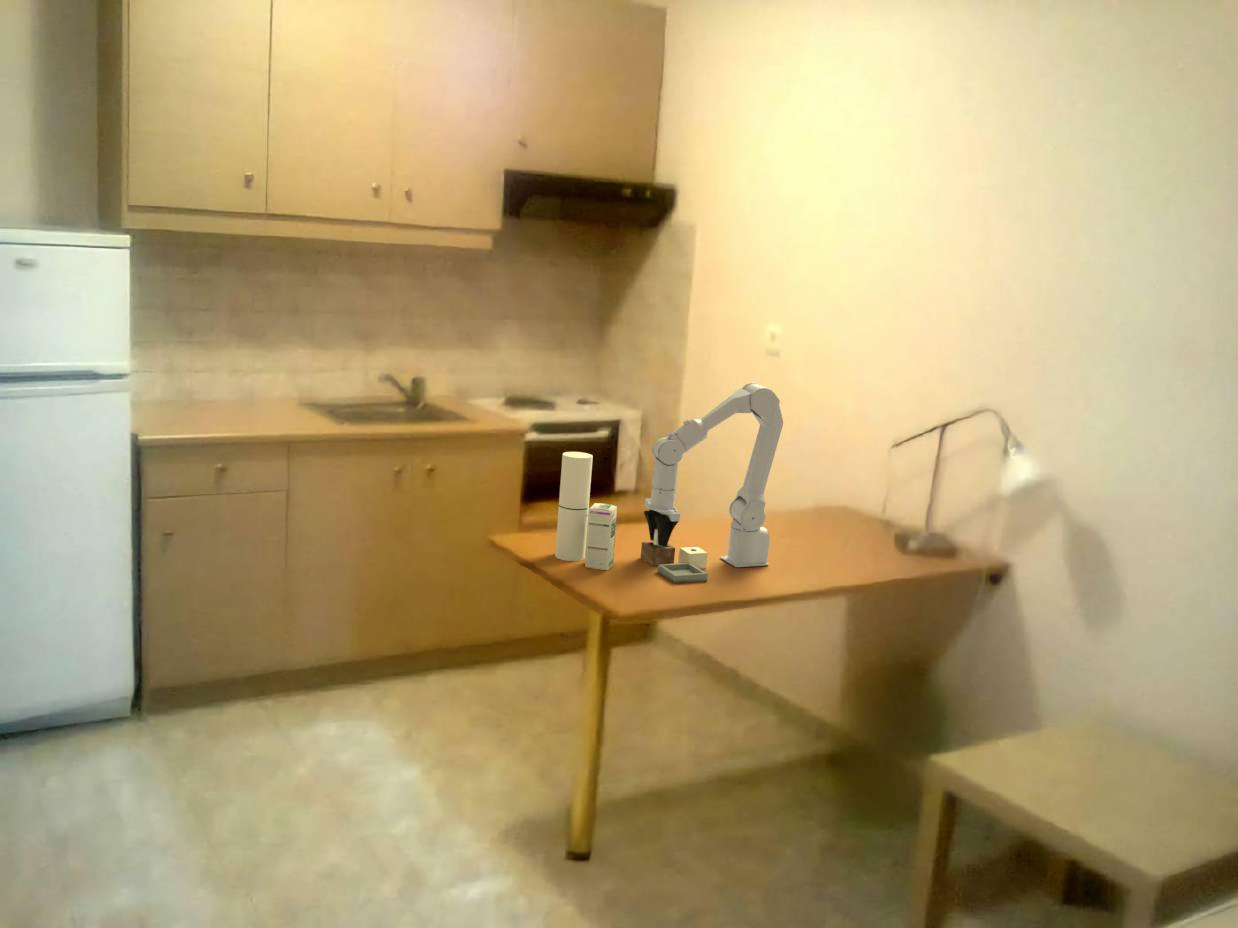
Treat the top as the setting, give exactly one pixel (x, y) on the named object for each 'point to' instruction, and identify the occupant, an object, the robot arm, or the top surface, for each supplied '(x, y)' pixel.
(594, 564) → the syrup box
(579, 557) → the cylindrical container
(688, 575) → the tray
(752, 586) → the top surface
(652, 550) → the hollow square frame
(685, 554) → the small block
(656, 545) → the cylinder
